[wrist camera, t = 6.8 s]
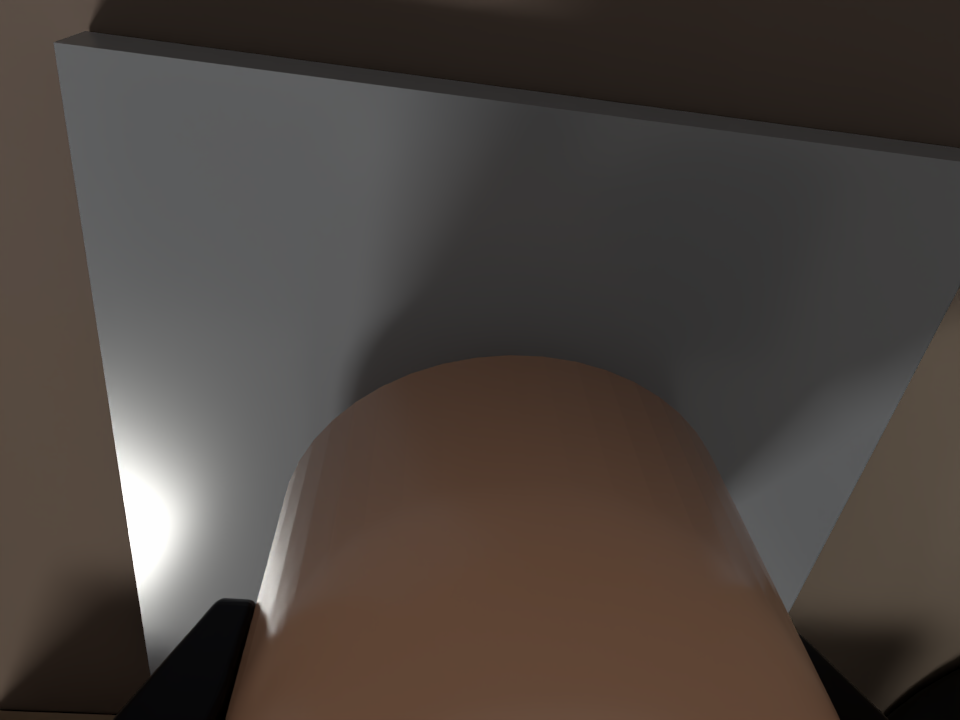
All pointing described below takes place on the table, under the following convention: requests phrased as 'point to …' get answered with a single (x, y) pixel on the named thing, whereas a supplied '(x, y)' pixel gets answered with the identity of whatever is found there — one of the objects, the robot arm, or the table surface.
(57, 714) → the frame
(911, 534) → the table surface
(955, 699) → the mug
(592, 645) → the terracotta pot
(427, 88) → the slate tile
